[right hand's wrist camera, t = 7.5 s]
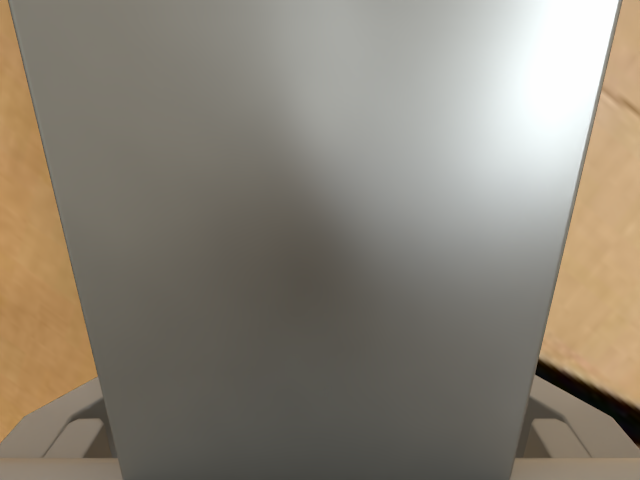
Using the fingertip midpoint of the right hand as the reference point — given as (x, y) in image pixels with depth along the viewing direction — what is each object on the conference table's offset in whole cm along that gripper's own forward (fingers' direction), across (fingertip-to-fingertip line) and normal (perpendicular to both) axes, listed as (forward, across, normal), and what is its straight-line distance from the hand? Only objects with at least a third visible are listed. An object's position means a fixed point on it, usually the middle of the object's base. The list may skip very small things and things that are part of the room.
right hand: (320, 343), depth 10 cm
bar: (+4, 0, +9) cm, 10 cm away
